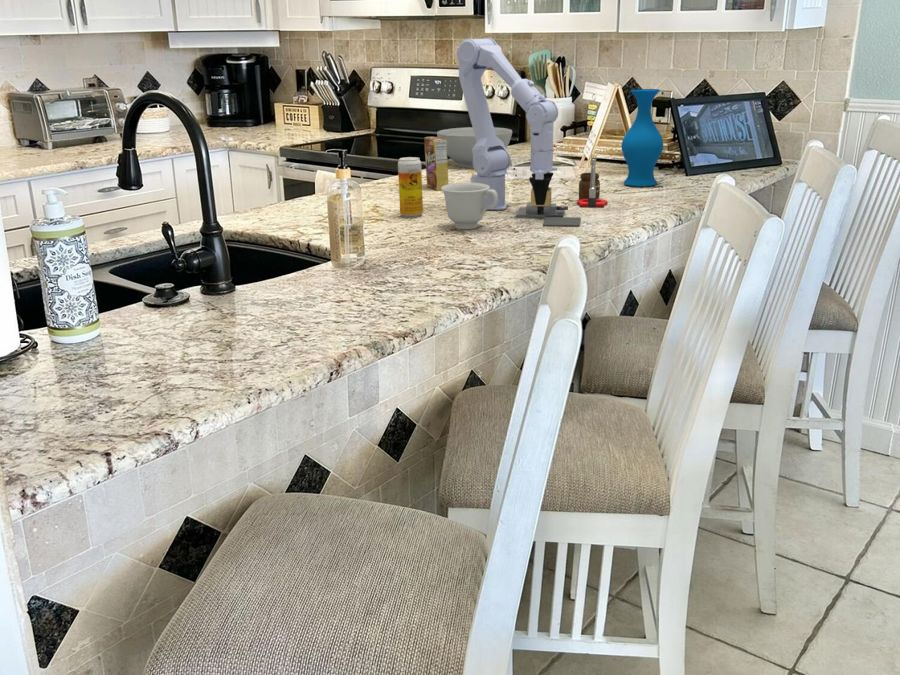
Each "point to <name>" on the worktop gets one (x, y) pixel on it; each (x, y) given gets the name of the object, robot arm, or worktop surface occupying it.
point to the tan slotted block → (547, 201)
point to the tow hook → (592, 193)
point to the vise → (541, 211)
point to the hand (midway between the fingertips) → (541, 202)
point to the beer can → (410, 187)
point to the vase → (642, 142)
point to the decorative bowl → (467, 143)
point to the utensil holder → (588, 183)
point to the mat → (562, 221)
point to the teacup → (467, 203)
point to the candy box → (436, 162)
